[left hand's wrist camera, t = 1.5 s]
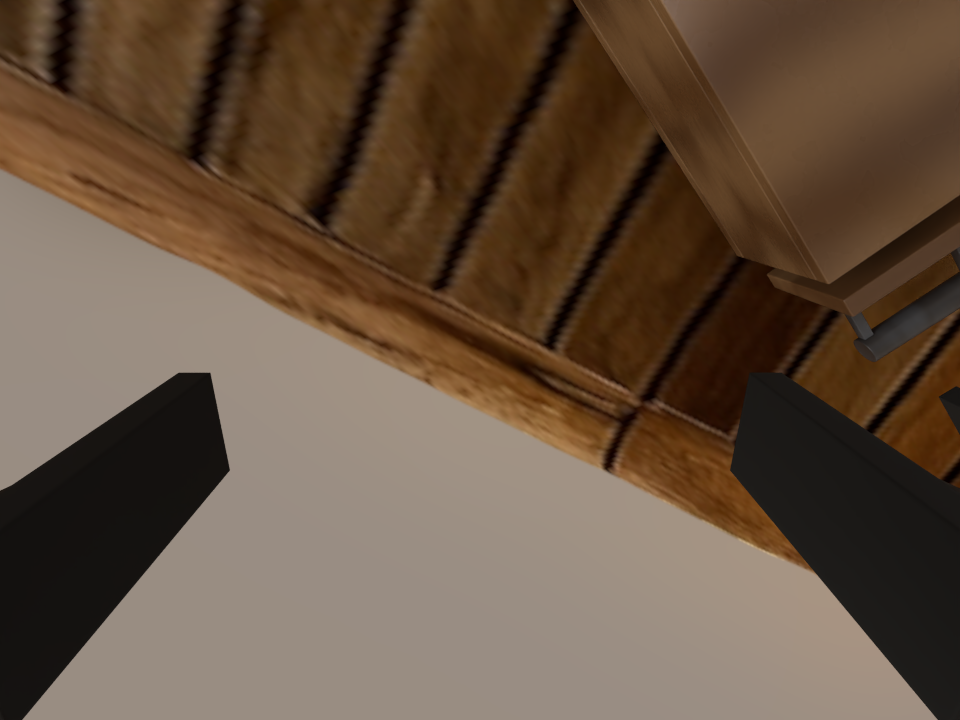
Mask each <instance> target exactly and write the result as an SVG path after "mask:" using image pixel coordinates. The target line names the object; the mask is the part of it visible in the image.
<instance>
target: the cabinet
mask: <svg viewBox="0 0 960 720" xmlns="http://www.w3.org/2000/svg"><path fill="white" fill-rule="evenodd" d="M573 1H574V2H575V4H576V6H577V7H578V9H579V10H580V12H581V13H582V15H583V16H584V18H585V20H586V21H587V23H588V24H589V26H590V27H591V29H592V30H593V32H594V34H595V35H596V37H597V38H598V40H599V41H600V43H601V44H602V46H603V48H604V49H605V51H606V52H607V54H608V55H609V57H610V58H611V60H612V62H613V63H614V65H615V66H616V68H617V69H618V71H619V72H620V74H621V76H622V77H623V79H624V80H625V82H626V83H627V85H628V87H629V88H630V90H631V91H632V93H633V94H634V96H635V97H636V99H637V101H638V102H639V104H640V105H641V107H642V108H643V110H644V111H645V113H646V115H647V116H648V118H649V119H650V121H651V122H652V124H653V125H654V127H655V129H656V130H657V132H658V133H659V135H660V136H661V138H662V139H663V141H664V143H665V144H666V146H667V147H668V149H669V150H670V152H671V153H672V155H673V157H674V158H675V160H676V161H677V163H678V164H679V166H680V168H681V169H682V171H683V172H684V174H685V175H686V177H687V178H688V180H689V182H690V183H691V185H692V186H693V188H694V189H695V191H696V192H697V194H698V196H699V197H700V199H701V200H702V202H703V203H704V205H705V206H706V208H707V210H708V211H709V213H710V214H711V216H712V217H713V219H714V220H715V222H716V224H717V225H718V227H719V228H720V230H721V231H722V233H723V235H724V236H725V238H726V239H727V241H728V242H729V244H730V245H731V247H732V249H733V250H734V252H735V253H736V255H737V256H739V257H742V258H746V259H749V260H752V261H755V262H759V263H762V264H765V265H768V266H771V267H775V268H778V269H781V270H784V271H787V272H791V273H794V274H797V275H800V276H803V277H807V278H810V279H813V280H817V281H819V282H823V283H826V284H831V283H832V282H833V281H835V280H836V279H838V278H839V277H841V276H842V275H844V274H845V273H847V272H848V271H850V270H851V269H852V268H854V267H855V266H857V265H858V264H860V263H861V262H863V261H864V260H866V259H867V258H868V257H870V256H871V255H873V254H874V253H876V252H877V251H879V250H880V249H882V248H883V247H885V246H886V245H887V244H889V243H890V242H892V241H893V240H895V239H896V238H898V237H899V236H901V235H902V234H904V233H905V232H906V231H908V230H909V229H911V228H912V227H914V226H915V225H917V224H918V223H920V222H921V221H922V220H924V219H925V218H927V217H928V216H930V215H931V214H933V213H934V212H936V211H937V210H939V209H940V208H941V207H943V206H944V205H946V204H947V203H949V202H950V201H952V200H953V199H955V198H956V197H958V196H959V195H960V0H573Z"/></svg>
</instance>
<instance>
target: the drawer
mask: <svg viewBox="0 0 960 720" xmlns="http://www.w3.org/2000/svg"><path fill="white" fill-rule="evenodd" d="M949 253H951V254H952V256H953V258H954V260H955V262H956V264H957V266H958V268H959V270H960V195H959V196H958V197H956V198H955V199H953V200H952V201H950V202H949V203H947V204H946V205H944V206H943V207H941V208H940V209H939V210H937V211H936V212H934V213H933V214H931V215H930V216H928V217H927V218H925V219H924V220H922V221H921V222H920V223H918V224H917V225H915V226H914V227H912V228H911V229H909V230H908V231H906V232H905V233H904V234H902V235H901V236H899V237H898V238H896V239H895V240H893V241H892V242H890V243H889V244H887V245H886V246H885V247H883V248H882V249H880V250H879V251H877V252H876V253H874V254H873V255H871V256H870V257H868V258H867V259H866V260H864V261H863V262H861V263H860V264H858V265H857V266H855V267H854V268H852V269H851V270H850V271H848V272H847V273H845V274H844V275H842V276H841V277H839V278H838V279H836V280H835V281H833V282H832V283H831V284H826V283H823V282H819V281H817V280H813V279H810V278H807V277H803V276H800V275H797V274H794V273H791V272H787V271H784V270H781V269H778V268H775V269H773V270H772V271H771V272H769V273H768V274H767V276H768V277H769V279H770V280H771V282H772V284H773V285H774V287H775V288H778V289H780V290H783V291H786V292H788V293H791V294H794V295H796V296H799V297H802V298H804V299H807V300H809V301H812V302H815V303H817V304H820V305H823V306H825V307H828V308H831V309H833V310H836V311H839V312H841V313H844V314H845V315H846V317H847V319H848V320H849V322H850V324H851V326H852V327H853V329H854V331H855V332H856V334H857V336H858V337H859V338H857V339H856V340H854V345H855V347H856V349H857V350H858V351H859V352H860V353H861V354H862V355H863V356H864V357H865V358H867V359H868V360H870V361H872V362H876V361H878V360H879V359H881V358H882V357H884V356H885V355H887V354H889V353H890V352H892V351H893V350H895V349H896V348H898V347H900V346H901V345H903V344H904V343H906V342H907V341H909V340H911V339H912V338H914V337H915V336H917V335H918V334H920V333H922V332H923V331H925V330H926V329H928V328H929V327H931V326H933V325H934V324H936V323H937V322H939V321H940V320H942V319H944V318H945V317H947V316H948V315H950V314H951V313H953V312H955V311H956V310H958V309H959V308H960V272H958V273H957V274H955V275H954V276H952V277H951V278H949V279H948V280H946V281H945V282H943V283H942V284H940V285H938V286H937V287H935V288H934V289H932V290H931V291H929V292H928V293H926V294H925V295H923V296H922V297H920V298H919V299H917V300H915V301H914V302H912V303H911V304H909V305H908V306H906V307H905V308H903V309H902V310H900V311H899V312H897V313H896V314H894V315H892V316H891V317H889V318H888V319H886V320H885V321H883V322H882V323H880V324H879V325H877V326H876V327H874V328H873V329H871V328H870V327H869V325H868V323H867V321H866V320H865V318H864V316H863V315H862V313H861V312H862V311H863V310H865V309H866V308H868V307H869V306H871V305H872V304H874V303H875V302H877V301H878V300H880V299H881V298H883V297H884V296H886V295H887V294H889V293H890V292H892V291H893V290H895V289H896V288H898V287H900V286H901V285H903V284H904V283H906V282H907V281H909V280H910V279H912V278H913V277H915V276H916V275H918V274H919V273H921V272H922V271H924V270H925V269H927V268H928V267H930V266H931V265H933V264H934V263H936V262H937V261H939V260H940V259H942V258H943V257H945V256H946V255H948V254H949Z"/></svg>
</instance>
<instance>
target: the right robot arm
mask: <svg viewBox="0 0 960 720" xmlns="http://www.w3.org/2000/svg"><path fill="white" fill-rule="evenodd" d="M939 398H940V400H941V402H942V404H943V405H944V407H945V409H946V411H947V412H948V414H949V416H950V418H951V420H952V421H953V423H954V425H955V427H956V429H957V430H958V432H959V434H960V388H959V387H954V388H953V389H951V390H949V391H948V392H946V393H944V394H943V395H941V396H939Z"/></svg>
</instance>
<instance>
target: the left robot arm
mask: <svg viewBox="0 0 960 720" xmlns="http://www.w3.org/2000/svg"><path fill="white" fill-rule="evenodd" d="M229 471H230V469H229V464H228V459H227V454H226V449H225V444H224V439H223V434H222V429H221V424H220V419H219V414H218V409H217V404H216V399H215V394H214V389H213V384H212V379H211V374H210V373H178V374H176V375H175V376H173V377H172V378H170V379H169V380H167V381H166V382H164V383H163V384H161V385H160V386H159V387H157V388H156V389H154V390H153V391H151V392H150V393H148V394H147V395H145V396H144V397H142V398H141V399H139V400H138V401H136V402H135V403H133V404H132V405H130V406H129V407H127V408H126V409H124V410H123V411H121V412H120V413H118V414H117V415H116V416H114V417H112V418H111V419H109V420H108V421H107V422H105V423H104V424H102V425H101V426H99V427H98V428H96V429H95V430H93V431H92V432H90V433H89V434H87V435H86V436H84V437H83V438H81V439H80V440H78V441H77V442H75V443H74V444H72V445H71V446H69V447H68V448H66V449H65V450H63V451H62V452H61V453H59V454H58V455H56V456H55V457H53V458H52V459H50V460H49V461H47V462H46V463H44V464H43V465H41V466H40V467H38V468H37V469H35V470H34V471H32V472H31V473H29V474H28V475H26V476H25V477H23V478H22V479H21V480H19V481H18V482H16V483H15V484H13V485H12V486H9V487H7V488H5V489H3V490H1V491H0V720H22V719H23V718H24V717H25V716H26V715H27V713H28V712H29V711H30V710H31V709H32V707H33V706H34V705H35V704H36V703H37V701H38V700H39V699H40V698H41V696H42V695H43V694H44V693H45V692H46V691H47V689H48V688H49V687H50V686H51V685H52V683H53V682H54V681H55V680H56V678H57V677H58V676H59V675H60V674H61V673H62V671H63V670H64V669H65V668H66V666H67V665H68V664H69V663H70V662H71V660H72V659H73V658H74V657H75V656H76V654H77V653H78V652H79V651H80V650H81V648H82V647H83V646H84V645H85V644H86V642H87V641H88V640H89V639H90V638H91V636H92V635H93V634H94V633H95V632H96V630H97V629H98V628H99V627H100V626H101V624H102V623H103V622H104V621H105V620H106V618H107V617H108V616H109V615H110V614H111V612H112V611H113V610H114V609H115V608H116V606H117V605H118V604H119V603H120V602H121V600H122V599H123V598H124V597H125V596H126V594H127V593H128V592H129V591H130V590H131V588H132V587H133V586H134V585H135V584H136V582H137V581H138V580H139V579H140V578H141V576H142V575H143V574H144V573H145V572H146V570H147V569H148V568H149V567H150V566H151V564H152V563H153V562H154V561H155V560H156V558H157V557H158V556H159V555H160V554H161V552H162V551H163V550H164V549H165V548H166V546H167V545H168V544H169V543H170V541H171V540H172V539H173V538H174V537H175V536H176V534H177V533H178V532H179V531H180V530H181V528H182V527H183V526H184V525H185V524H186V522H187V521H188V520H189V519H190V517H191V516H192V515H193V514H194V513H195V512H196V510H197V509H198V508H199V507H200V506H201V504H202V503H203V502H204V501H205V500H206V498H207V497H208V496H209V495H210V493H211V492H212V491H213V490H214V489H215V488H216V486H217V485H218V484H219V483H220V482H221V480H222V479H223V478H224V477H225V475H226V474H227V473H228V472H229ZM730 471H731V472H732V473H733V474H734V475H735V477H736V478H737V479H738V480H739V482H740V483H741V484H742V485H743V486H744V488H745V489H746V490H747V491H748V492H749V494H750V495H751V496H752V497H753V498H754V500H755V501H756V502H757V503H758V504H759V506H760V507H761V508H762V509H763V510H764V512H765V513H766V514H767V515H768V516H769V518H770V519H771V520H772V521H773V522H774V524H775V525H776V526H777V527H778V528H779V530H780V531H781V532H782V533H783V534H784V536H785V537H786V538H787V539H788V540H789V542H790V543H791V544H792V545H793V546H794V548H795V549H796V550H797V551H798V552H799V554H800V555H801V556H802V557H803V558H804V560H805V561H806V562H807V563H808V564H809V566H810V567H811V568H812V569H813V570H814V572H815V573H816V574H817V575H818V576H819V578H820V579H821V580H822V581H823V582H824V584H825V585H826V586H827V587H828V588H829V590H830V591H831V592H832V593H833V594H834V596H835V597H836V598H837V599H838V600H839V602H840V603H841V604H842V605H843V606H844V608H845V609H846V610H847V611H848V612H849V614H850V615H851V616H852V617H853V618H854V620H855V621H856V622H857V623H858V624H859V626H860V627H861V628H862V629H863V630H864V632H865V633H866V634H867V635H868V636H869V638H870V639H871V640H872V641H873V642H874V644H875V645H876V646H877V647H878V648H879V650H880V651H881V652H882V653H883V654H884V656H885V657H886V658H887V659H888V660H889V662H890V663H891V664H892V665H893V666H894V668H895V669H896V670H897V671H898V672H899V674H900V675H901V676H902V677H903V679H904V680H905V681H906V682H907V683H908V684H909V686H910V687H911V688H912V689H913V691H914V692H915V693H916V694H917V695H918V696H919V698H920V699H921V700H922V701H923V703H924V704H925V705H926V706H927V707H928V709H929V710H930V711H931V712H932V713H933V715H934V716H935V717H936V718H937V719H938V720H960V488H958V487H956V486H953V485H951V484H949V483H947V482H945V481H942V480H940V479H938V478H937V477H935V476H934V475H932V474H931V473H929V472H928V471H926V470H925V469H923V468H922V467H920V466H919V465H917V464H916V463H914V462H913V461H911V460H910V459H908V458H907V457H905V456H904V455H902V454H901V453H899V452H898V451H897V450H895V449H894V448H892V447H891V446H889V445H888V444H886V443H885V442H883V441H882V440H880V439H879V438H877V437H876V436H874V435H873V434H871V433H870V432H868V431H867V430H865V429H864V428H862V427H861V426H859V425H858V424H856V423H855V422H853V421H852V420H851V419H849V418H848V417H846V416H845V415H843V414H842V413H840V412H839V411H837V410H836V409H834V408H833V407H831V406H830V405H828V404H827V403H825V402H824V401H822V400H821V399H819V398H818V397H816V396H815V395H813V394H812V393H810V392H809V391H807V390H806V389H805V388H803V387H802V386H800V385H799V384H797V383H796V382H794V381H793V380H791V379H790V378H788V377H787V376H785V375H784V374H782V373H750V374H749V379H748V384H747V389H746V394H745V399H744V404H743V409H742V414H741V419H740V424H739V429H738V434H737V439H736V444H735V449H734V454H733V459H732V464H731V469H730Z"/></svg>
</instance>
